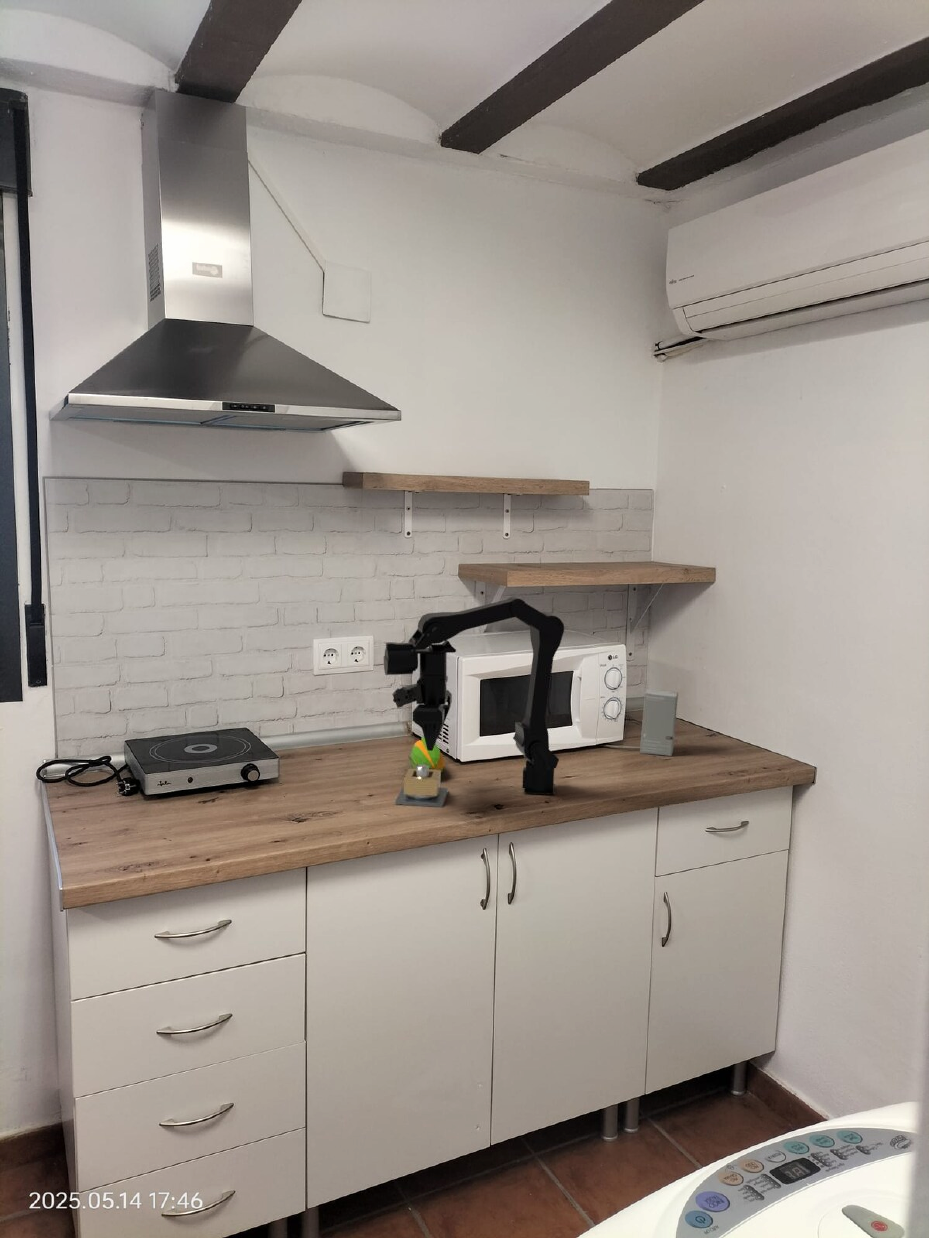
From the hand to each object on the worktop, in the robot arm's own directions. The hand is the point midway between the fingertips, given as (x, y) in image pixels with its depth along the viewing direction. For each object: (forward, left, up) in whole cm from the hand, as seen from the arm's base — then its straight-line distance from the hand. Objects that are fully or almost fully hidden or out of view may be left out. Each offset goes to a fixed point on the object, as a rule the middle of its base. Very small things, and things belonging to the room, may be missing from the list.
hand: (432, 744), depth 196 cm
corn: (+4, -19, -12) cm, 23 cm away
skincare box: (-53, -44, -12) cm, 70 cm away
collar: (+2, +1, -10) cm, 10 cm away
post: (+2, +1, -12) cm, 12 cm away
